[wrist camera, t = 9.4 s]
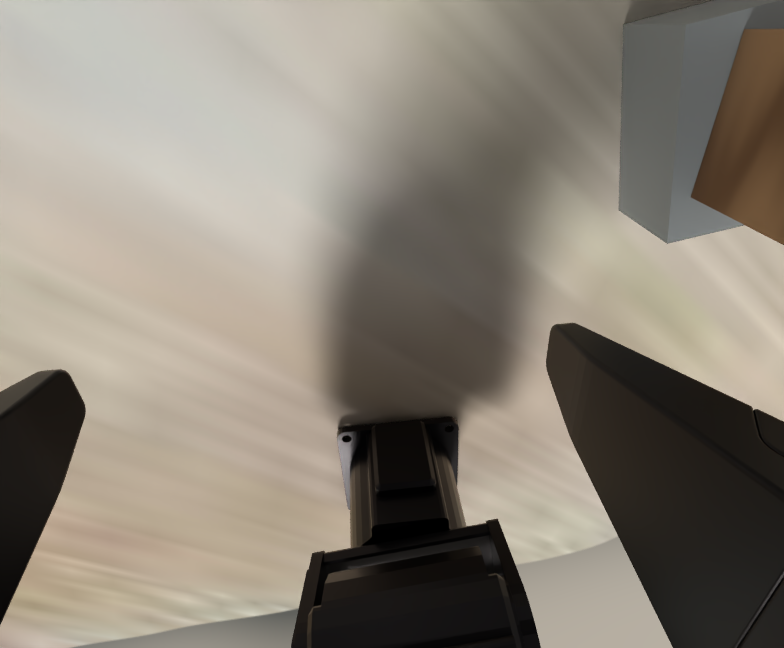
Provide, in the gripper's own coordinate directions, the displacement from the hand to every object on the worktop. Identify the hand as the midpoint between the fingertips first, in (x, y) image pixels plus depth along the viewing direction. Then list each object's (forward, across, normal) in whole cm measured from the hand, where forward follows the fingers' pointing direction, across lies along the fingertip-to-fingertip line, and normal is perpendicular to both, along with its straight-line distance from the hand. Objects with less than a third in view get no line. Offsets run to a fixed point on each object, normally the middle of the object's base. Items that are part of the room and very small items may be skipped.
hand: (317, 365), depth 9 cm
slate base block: (+12, -15, -2) cm, 20 cm away
